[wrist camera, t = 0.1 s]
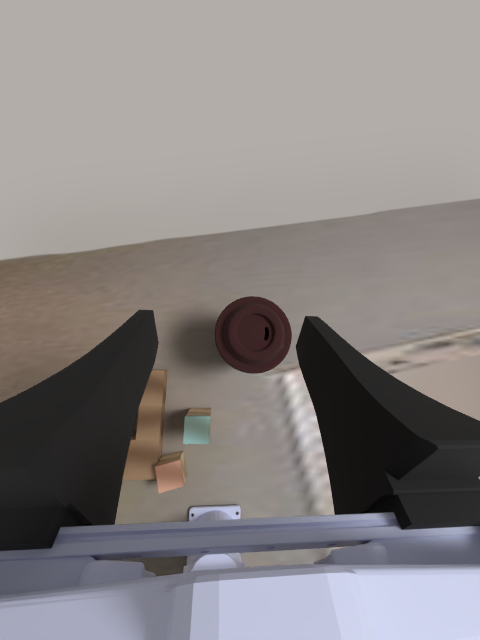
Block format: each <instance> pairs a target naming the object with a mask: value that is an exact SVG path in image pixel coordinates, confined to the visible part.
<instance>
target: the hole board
mask: <svg viewBox="0 0 480 640" xmlns="http://www.w3.org/2000/svg"><path fill="white" fill-rule="evenodd" d="M166 383H167V370H152V371H151V374H150V377H149V380H148V383H147V386H146V388H145V391H144V394H143V397H142V400H141V402H140V405H139V410H138V421H137V432H136V435H132V437H131V441H130V446H129V450H128V455H127V459H126V464H125V470H124V475H123V480H145V479H157V477H156V471H155V466H156V465H157V463H158V462H159V460H160V458H161V452H162V438H163V424H164V411H165V397H166Z"/></svg>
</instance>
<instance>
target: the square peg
mask: <svg viewBox="0 0 480 640" xmlns="http://www.w3.org/2000/svg"><path fill="white" fill-rule="evenodd" d="M210 424H211V408H190V410H189V411H188V413H187V415H186V416H185V421H184V439H183V444H209V443H210Z"/></svg>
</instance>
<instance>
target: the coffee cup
mask: <svg viewBox="0 0 480 640" xmlns="http://www.w3.org/2000/svg"><path fill="white" fill-rule="evenodd" d="M291 337H292V334H291V327H290V324H289V321H288V319H287V317H286V315H285V313H284V312H283V311H282V310H281V309H280V308H279V307H278V306H277V305H276V304H274V303H273V302H271V301H269V300H267V299H265V298H261V297H253V296H252V297H244V298H240V299H238V300H236V301H234V302H232V303H231V304H229V305H228V306H227V307H226V308H225V309H224V310H223V311H222V313H221V314H220V316H219V318H218V320H217V323H216V327H215V342H216V346H217V349H218V351H219V353H220V355H221V356H222V358H223V359H224V360H225V361H226V362H227V363H228V364H229V365H230V366H232V367H233V368H235V369H237V370H239V371H242V372H246V373H262V372H266V371H269V370H271V369H273V368H274V367H276V366H277V365H278V364H280V363H281V362H282V361H283V359H284V358H285V356H286V355H287V353H288V351H289V348H290V344H291Z"/></svg>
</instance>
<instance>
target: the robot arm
mask: <svg viewBox="0 0 480 640" xmlns="http://www.w3.org/2000/svg"><path fill="white" fill-rule="evenodd" d="M157 348H158V337H157V331H156V325H155V319H154V313H153V310H139V311H137V312H136V313H135V314H134V315H133V316H132V317H131V318H129V319H128V320H127V321H126V322H125V323H124V324H123V325H122V326H120V327H119V328H118V329H117V330H116V331H115V332H114V333H112V334H111V335H110V336H109V337H108V338H106V339H105V340H104V341H103V342H101V343H100V344H99V345H97V346H96V347H95V348H94V349H92V350H91V351H90V352H88V353H87V354H86V355H84V356H83V357H81V358H80V359H78V360H77V361H75V362H74V363H72V364H71V365H69V366H68V367H66V368H65V369H63V370H61V371H60V372H58V373H56V374H54V375H53V376H51V377H49V378H47V379H46V380H44V381H42V382H40V383H39V384H37V385H35V386H33V387H32V388H30V389H28V390H26V391H24V392H22V393H20V394H18V395H16V396H14V397H12V398H10V399H8V400H6V401H4V402H2V403H0V640H480V480H479V478H478V477H479V476H480V421H478V420H476V419H474V418H471V417H469V416H467V415H465V414H463V413H461V412H458V411H456V410H454V409H451V408H450V407H447V406H445V405H443V404H442V403H439V402H438V401H436V400H434V399H432V398H430V397H428V396H426V395H424V394H422V393H420V392H419V391H417V390H415V389H413V388H412V387H410V386H408V385H406V384H405V383H403V382H401V381H399V380H398V379H396V378H395V377H393V376H392V375H390V374H389V373H387V372H386V371H384V370H383V369H381V368H380V367H378V366H377V365H375V364H374V363H373V362H371V361H370V360H368V359H367V358H366V357H365V356H363V355H362V354H361V353H359V352H358V351H357V350H356V349H355V348H353V347H352V346H351V345H350V344H349V343H347V342H346V341H345V340H344V339H343V338H342V337H340V336H339V335H338V334H337V333H336V332H335V331H334V330H333V329H331V328H330V327H329V326H328V325H327V324H326V323H325V322H324V321H322V320H321V319H320V318H319V317H315V316H305V319H304V322H303V325H302V329H301V332H300V335H299V338H298V341H297V344H296V351H297V356H298V361H299V365H300V368H301V371H302V374H303V377H304V380H305V383H306V386H307V388H308V391H309V394H310V397H311V400H312V403H313V406H314V409H315V412H316V416H317V420H318V424H319V429H320V433H321V437H322V442H323V447H324V452H325V457H326V462H327V468H328V473H329V479H330V485H331V491H332V498H333V504H334V512H335V515H321V516H298V517H276V518H254V519H240V506H239V505H225V506H199V507H191V508H190V511H189V521H187V522H165V523H142V524H120V525H114V524H115V519H116V513H117V507H118V501H119V496H120V490H121V485H122V480H123V475H124V470H125V464H126V459H127V455H128V450H129V446H130V441H131V437H132V432H133V428H134V424H135V420H136V416H137V412H138V409H139V405H140V402H141V400H142V397H143V394H144V391H145V388H146V386H147V383H148V380H149V377H150V374H151V371H152V368H153V365H154V362H155V358H156V353H157ZM236 512H239V513H238V514H236ZM192 513H193V514H194V515H193V516H192V515H191V514H192ZM347 546H351V547H347ZM330 547H346V548H340V549H335V550H332V551H331V553H330V555H329V556H327V557H326V558H324V559H322V560H319V561H317V562H314V564H299V565H275V566H259V567H245V563H244V562H241V556H240V553H244V552H261V551H278V550H295V549H313V548H330ZM176 556H187V565H186V566H184V569H183V573H182V574H173V575H165V576H157V577H156V575H155V573H152V572H149V571H146V570H145V569H144V568H145V565H144V564H143V562H128V561H110V560H124V559H141V558H158V557H176Z"/></svg>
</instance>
